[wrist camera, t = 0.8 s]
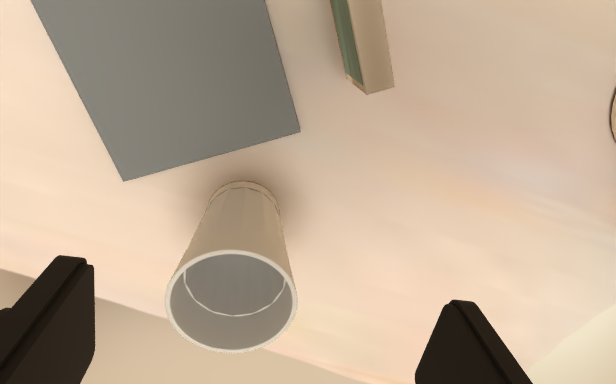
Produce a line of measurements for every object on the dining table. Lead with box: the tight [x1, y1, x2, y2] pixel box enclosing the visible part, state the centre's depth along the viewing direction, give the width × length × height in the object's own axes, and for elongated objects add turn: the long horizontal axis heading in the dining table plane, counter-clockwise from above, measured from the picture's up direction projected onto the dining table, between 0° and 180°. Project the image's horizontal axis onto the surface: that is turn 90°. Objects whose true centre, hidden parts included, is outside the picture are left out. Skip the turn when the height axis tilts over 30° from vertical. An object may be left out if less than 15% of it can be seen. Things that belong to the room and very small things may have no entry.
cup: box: [165, 181, 297, 353], centre depth 29 cm, size 8×8×12 cm
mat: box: [31, 0, 301, 182], centre depth 29 cm, size 15×14×1 cm
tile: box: [330, 0, 395, 95], centre depth 26 cm, size 2×8×7 cm, turn 15°
